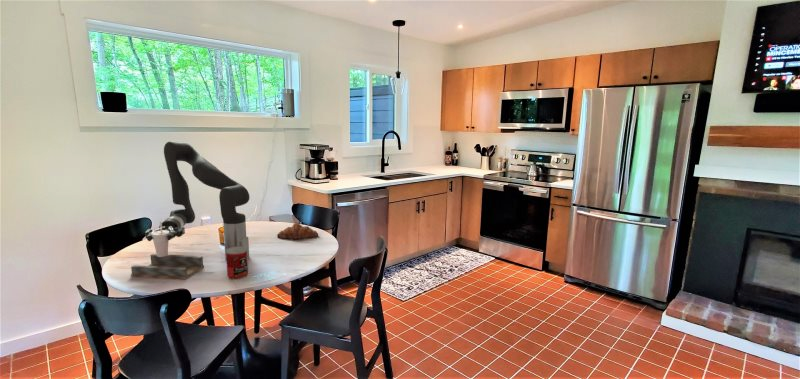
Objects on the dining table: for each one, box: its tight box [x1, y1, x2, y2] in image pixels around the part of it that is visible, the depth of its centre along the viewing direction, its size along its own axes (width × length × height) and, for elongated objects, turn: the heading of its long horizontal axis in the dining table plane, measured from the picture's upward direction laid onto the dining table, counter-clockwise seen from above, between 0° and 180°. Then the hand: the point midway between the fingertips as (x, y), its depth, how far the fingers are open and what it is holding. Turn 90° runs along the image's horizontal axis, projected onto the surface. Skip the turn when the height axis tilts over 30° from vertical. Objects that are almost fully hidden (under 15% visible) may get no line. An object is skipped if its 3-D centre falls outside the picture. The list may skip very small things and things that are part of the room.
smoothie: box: [151, 221, 170, 257], centre depth 151 cm, size 6×6×14 cm
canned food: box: [225, 246, 249, 280], centre depth 150 cm, size 8×8×11 cm
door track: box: [130, 253, 205, 281], centre depth 153 cm, size 22×13×5 cm, turn 86°
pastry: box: [276, 222, 319, 241], centre depth 203 cm, size 17×15×8 cm
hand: (158, 238), depth 148 cm, fingers closed on smoothie, 6 cm apart
